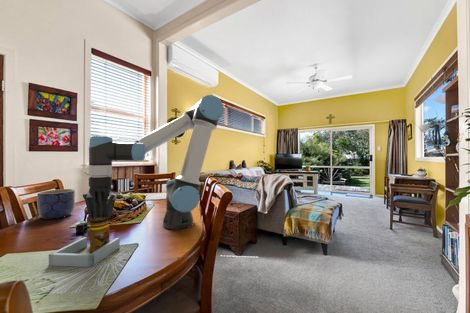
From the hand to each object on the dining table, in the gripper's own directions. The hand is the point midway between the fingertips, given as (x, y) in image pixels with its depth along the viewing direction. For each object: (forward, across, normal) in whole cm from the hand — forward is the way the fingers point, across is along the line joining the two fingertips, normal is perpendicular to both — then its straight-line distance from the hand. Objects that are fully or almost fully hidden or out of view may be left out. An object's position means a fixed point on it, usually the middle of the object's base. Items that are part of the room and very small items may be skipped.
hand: (99, 236), depth 80 cm
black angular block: (+5, +19, -13) cm, 24 cm away
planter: (+5, +54, -36) cm, 66 cm away
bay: (+4, -1, +7) cm, 8 cm away
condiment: (+4, -2, +4) cm, 6 cm away
